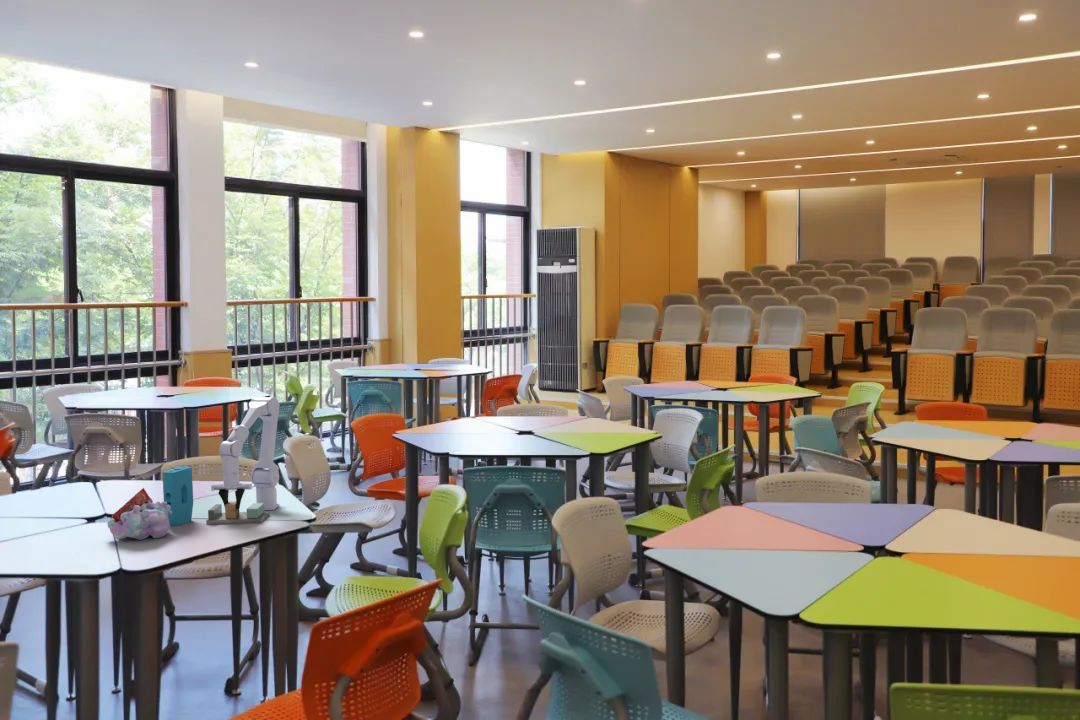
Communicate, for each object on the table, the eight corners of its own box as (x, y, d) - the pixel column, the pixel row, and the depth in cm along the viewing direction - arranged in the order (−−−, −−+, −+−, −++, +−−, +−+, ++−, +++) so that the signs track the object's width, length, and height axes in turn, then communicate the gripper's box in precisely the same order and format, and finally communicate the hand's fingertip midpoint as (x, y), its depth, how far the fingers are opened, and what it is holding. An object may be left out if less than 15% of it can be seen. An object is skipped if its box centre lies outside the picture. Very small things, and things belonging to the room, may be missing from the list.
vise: (216, 516, 352) (215, 503, 352) (269, 515, 353) (268, 502, 353) (206, 524, 341) (205, 511, 340) (261, 522, 342) (260, 509, 341)
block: (175, 526, 338) (173, 472, 336) (163, 526, 339) (161, 472, 337) (195, 519, 349) (192, 466, 348) (183, 518, 350) (181, 466, 349)
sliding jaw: (253, 512, 352) (253, 503, 352) (264, 511, 352) (264, 502, 352) (246, 518, 342) (246, 509, 342) (257, 517, 342) (257, 508, 342)
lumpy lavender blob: (154, 532, 310) (165, 482, 319) (90, 531, 310) (102, 481, 318) (174, 549, 328) (184, 501, 337) (113, 548, 328) (124, 500, 336)
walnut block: (230, 514, 349) (229, 501, 349) (239, 514, 349) (238, 501, 349) (225, 518, 343) (224, 504, 343) (235, 517, 344) (234, 504, 343)
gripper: (208, 475, 341) (209, 511, 342) (247, 474, 342) (249, 510, 343) (213, 472, 348) (215, 507, 349) (252, 471, 349) (254, 506, 350)
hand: (232, 508), depth 347 cm, fingers closed on walnut block, 3 cm apart
